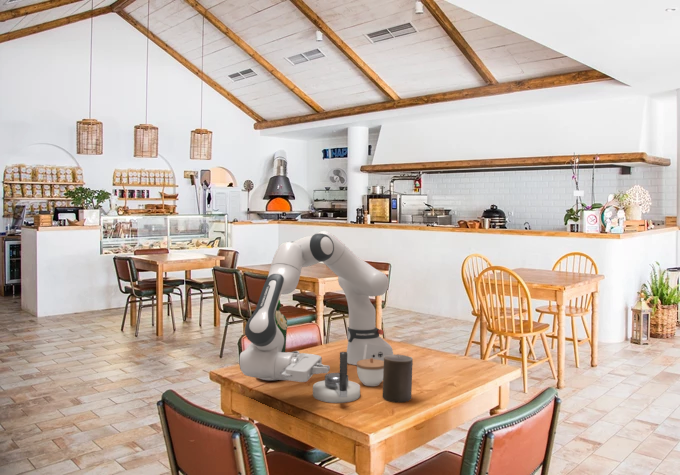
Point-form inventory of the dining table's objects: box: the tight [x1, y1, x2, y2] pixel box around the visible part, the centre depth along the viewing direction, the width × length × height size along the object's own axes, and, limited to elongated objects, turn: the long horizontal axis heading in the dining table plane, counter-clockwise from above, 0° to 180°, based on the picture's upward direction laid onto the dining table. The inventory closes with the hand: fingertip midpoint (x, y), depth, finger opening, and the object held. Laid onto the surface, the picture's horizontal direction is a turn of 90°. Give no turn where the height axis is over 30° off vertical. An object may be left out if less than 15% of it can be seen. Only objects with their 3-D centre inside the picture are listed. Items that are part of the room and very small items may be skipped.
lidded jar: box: [356, 358, 384, 387], centre depth 210 cm, size 11×11×9 cm
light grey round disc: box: [312, 379, 361, 404], centre depth 197 cm, size 16×16×3 cm
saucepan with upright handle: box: [324, 351, 349, 397], centre depth 192 cm, size 17×8×14 cm, turn 10°
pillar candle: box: [382, 353, 413, 403], centre depth 195 cm, size 10×10×15 cm
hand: (328, 369), depth 186 cm, fingers closed
